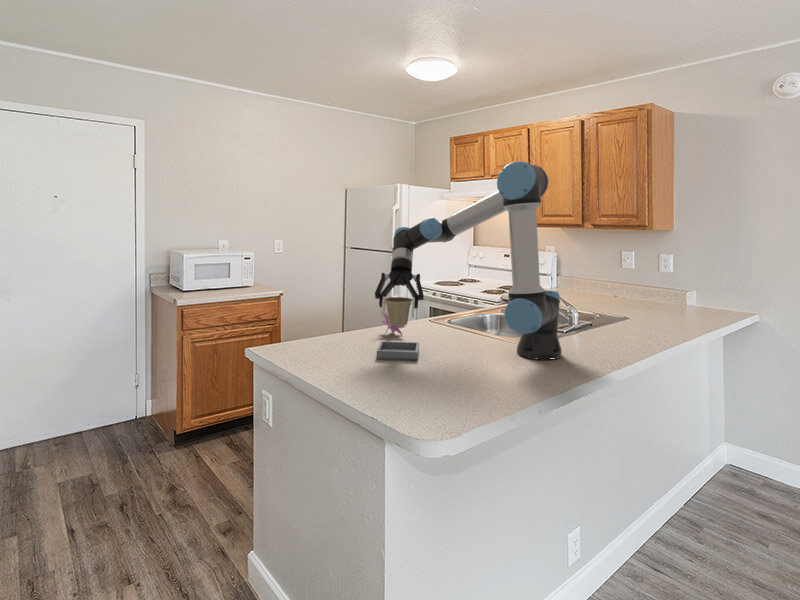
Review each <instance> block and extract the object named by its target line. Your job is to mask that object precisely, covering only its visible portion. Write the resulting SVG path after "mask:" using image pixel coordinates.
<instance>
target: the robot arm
mask: <svg viewBox="0 0 800 600" xmlns="http://www.w3.org/2000/svg"><path fill="white" fill-rule="evenodd" d="M548 187H549V178H548V175H547V173H546V171H545V170H544V169H543V168H542V167H540V166H538V165H534V164H531V163H529V162H526V161H512V162H510V163H508V164H506V165H505V166H504V167H503V168H502V169H501V170H500V171H499V173H498V175H497V179H496V188H497V191H494V193H491V194H490V195H487V196H486V197H484V198H482V199H480V200H478V201H476V202H474V203H473V204H471V205H468V206H467V207H464V208H463V209H461V210H459V211H457V212H456V213H454V214H452V215H450V216H448V217H446V218H445V219H442V220H440V221H439V220H438V219H436V217H432V216H431V217H429V218H426V219H423V220H422V221H421V222H419V223H418V224H415V225H413V226H412V227H408V226H400V227H398V228H396V229H395V231H394V235H393V239H392V241H393V243H392V254H391V266H390V272H389V273H387V274H385V272H381V275H380V276H381V278H380V280H379V282H378V285H377V287H376V289H375V292H374V298H375V300H378V301H379V302H378V305H379V308H381V311H380V313H381V317H384V313H386V311H385V310H386V301H385V299H386V298H387V296H388V295H389V294H390V292H392V290H393V288H395V287H397V286H402V287H403V286H405V287H406V289H407V290H408V291H409V293H410V295H411V296H412V298H411V299H412V301H411V318H415V309H418V308H419V301H424V299H425V298H424V291H423V288H422V283H421V274H420V273H417V274H413V273H412V271H413V261H414V260H413V257H414V250H415V249H417V248H420V247H421V246H423V245H425V244H427V243H448V242H450V241H453V240H454V239H455V237H456V236H458V235H461V234H462V233H464V232H467V231H468V230H470V229H472V228H475V227H477V226H479V225H480V224H482V223H485V222H487V221H489V220H490V219H492V218H495V217H496V216H498V215H501V214H502V213H504V212H506V211H507V213H508V222H509V223H508V224H509V226H508V227H509V241H510V242H509V243H510V258H511V259H510V261H511V263H510V264H511V278H512V279H511V280H512V287H510V289H509V290H508V293H507V294H508V298H507V299H508V303H507V305H506V307H505V309H504V315H503V316H504V320H505V322H506V325H507V326H508V328H510V329H511V330H512V331H513V332H515V333H517V334H521V336H520V339H519V341H518V343H517V346H516V353H518V354H519V355H518V354H517V355H518V356H520V355H521V356H520V357H522V356H524V357H523V358H526V357H529V358H528V359H531V358H538V359H550V358H557V357H560V356H561V357H562V346H561V342H560V339H559V335H558V331H559V329H558V328H559V315H560V314H559V313H560V303H561V299H560V298H561V296H560V295H561V294H560V293H559V292H558V291H557V290H556V291H555V290H547V289H545V288H544V287H542V286H541V284H540V283H541V280H540V277H541V276H540V259H539V241H538V239H539V238H538V237H539V236H538V222H537V221H538V219H537V218H538V217H537V209H538V208H539V207H540V206H541V205H542V200H541V199H542V197H544V195H545V194H546V193H547V190H548ZM388 279H389V282H388V283H387V285H386V286H385V284H386V282H387V280H388ZM412 280H414V282H415V284H416V285H415V286H416V288H417V291H416V290H415V288H414V286H413V284H412V282H411V281H412ZM384 287H385V288H384ZM383 288H384V289H383ZM417 292H418V293H417ZM384 318H385V317H384ZM561 357H560V358H561ZM538 359H537V360H538Z"/></svg>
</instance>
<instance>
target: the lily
mask: <svg viewBox="0 0 800 600" xmlns="http://www.w3.org/2000/svg"><path fill="white" fill-rule="evenodd" d="M380 322H381V323H382V324H383V325H386V326H387V329H386V331H385V333H384V336H383V338H385V337H386V334H387V332H388V330H389V329H390V331H391V333H393V334H394V333H395V332H397V333H398V334H400V335H401V336H402V335H403V333H402V331H401V329H402V328H405V327H406V325H404V326H401V325H398V326H394V325H390V323H389V316H388V313H386V312H385V313H384V319H383V320H381V321H380Z"/></svg>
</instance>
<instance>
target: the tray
mask: <svg viewBox="0 0 800 600" xmlns="http://www.w3.org/2000/svg"><path fill="white" fill-rule="evenodd" d="M419 352H420V342H413V341H411V342H408V341H388V340H387V341H385V340H384V341H382V340H381V341H380V343H379V344H378V347H377V349H376V360H378V361H402V362H403V361H404V362H406V361H407V362H418V360H419V359H418V358H419Z"/></svg>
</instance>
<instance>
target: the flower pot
mask: <svg viewBox="0 0 800 600" xmlns="http://www.w3.org/2000/svg"><path fill="white" fill-rule="evenodd" d="M385 301H386V303H385V306H386V307H387V308H386V309H387V315H388V316H389V323H390V325H394V326H398V325H401V326H404V325H405V326H407V325H408V321H409V314H410V308H411V306H412V298H409V297H405V296H404V297H403V296H400V297H399V296H395V297H394V296H393V297H385Z"/></svg>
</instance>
